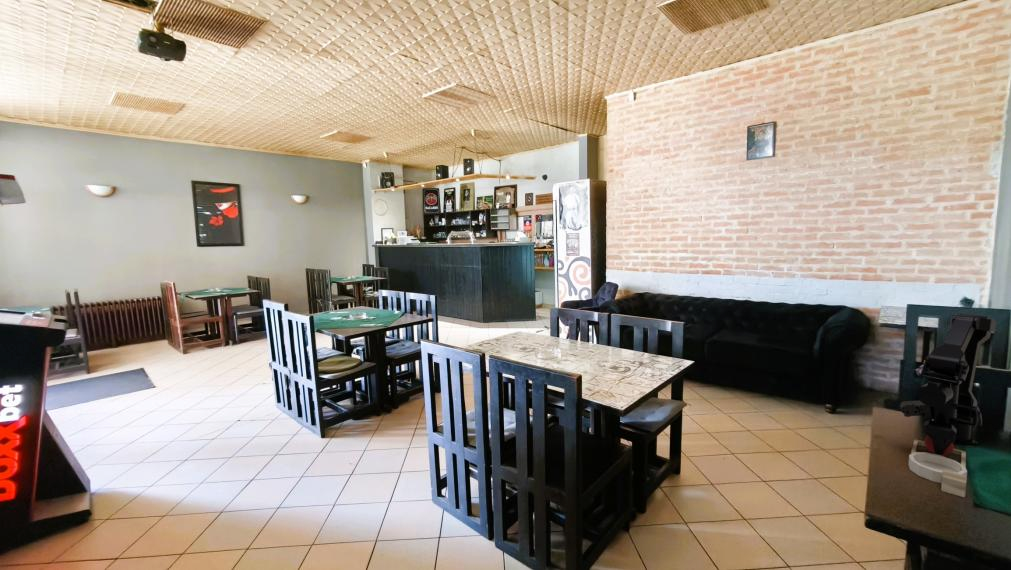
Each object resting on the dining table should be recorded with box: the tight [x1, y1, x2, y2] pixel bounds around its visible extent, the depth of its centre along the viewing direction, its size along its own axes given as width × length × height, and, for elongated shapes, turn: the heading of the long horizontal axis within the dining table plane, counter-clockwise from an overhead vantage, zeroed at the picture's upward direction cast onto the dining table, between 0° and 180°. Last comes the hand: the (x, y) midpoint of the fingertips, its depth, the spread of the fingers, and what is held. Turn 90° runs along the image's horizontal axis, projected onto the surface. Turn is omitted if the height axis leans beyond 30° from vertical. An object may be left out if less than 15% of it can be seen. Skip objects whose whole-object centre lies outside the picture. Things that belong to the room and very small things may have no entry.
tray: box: [910, 438, 967, 469], centre depth 120 cm, size 11×11×1 cm
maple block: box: [940, 470, 967, 498], centre depth 105 cm, size 4×4×4 cm
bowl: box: [908, 451, 968, 484], centre depth 112 cm, size 11×11×3 cm
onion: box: [924, 435, 955, 457], centre depth 120 cm, size 6×6×8 cm
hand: (938, 448), depth 120 cm, fingers open, 9 cm apart
